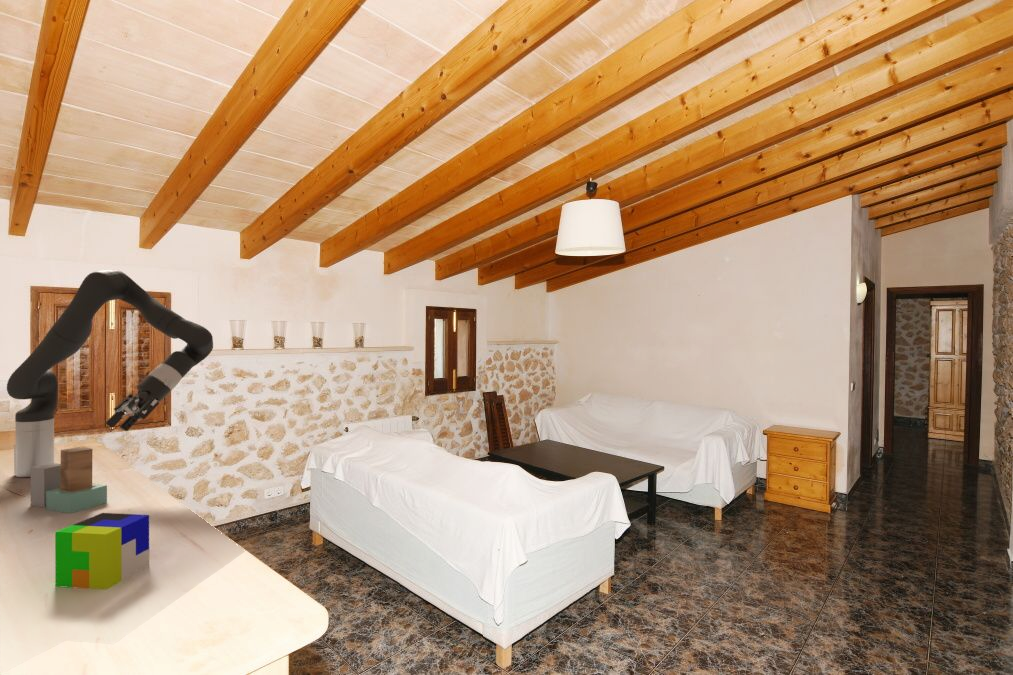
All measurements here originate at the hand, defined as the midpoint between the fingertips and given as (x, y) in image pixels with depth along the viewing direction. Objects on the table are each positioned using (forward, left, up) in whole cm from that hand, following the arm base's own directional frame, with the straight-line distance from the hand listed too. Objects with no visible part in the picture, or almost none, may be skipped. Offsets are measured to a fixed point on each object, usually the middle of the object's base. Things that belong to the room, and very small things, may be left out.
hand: (115, 427), depth 147 cm
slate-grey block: (-11, -10, -19) cm, 24 cm away
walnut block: (-2, -9, -14) cm, 17 cm away
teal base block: (-2, -9, -20) cm, 21 cm away
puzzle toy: (+44, -36, -20) cm, 60 cm away
